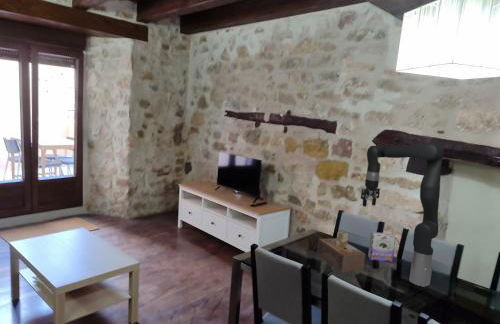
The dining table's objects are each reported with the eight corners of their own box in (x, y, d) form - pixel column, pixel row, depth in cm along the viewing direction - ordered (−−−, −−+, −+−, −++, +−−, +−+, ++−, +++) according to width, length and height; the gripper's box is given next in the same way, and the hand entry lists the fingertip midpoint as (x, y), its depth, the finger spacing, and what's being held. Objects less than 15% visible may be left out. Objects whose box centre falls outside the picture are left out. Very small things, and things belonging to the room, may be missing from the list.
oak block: (346, 246, 209) (348, 233, 208) (342, 248, 206) (344, 235, 205) (340, 244, 212) (341, 231, 211) (335, 245, 209) (337, 232, 208)
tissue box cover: (363, 270, 201) (365, 253, 200) (341, 272, 196) (343, 255, 195) (337, 253, 225) (339, 238, 224) (317, 254, 220) (319, 239, 219)
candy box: (390, 258, 222) (393, 233, 220) (392, 262, 216) (396, 236, 214) (367, 256, 223) (370, 231, 221) (369, 260, 217) (373, 234, 215)
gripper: (369, 180, 202) (366, 208, 204) (385, 179, 210) (381, 206, 212) (359, 178, 209) (356, 205, 211) (374, 177, 217) (371, 203, 219)
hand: (369, 205), depth 212 cm, fingers open, 8 cm apart
